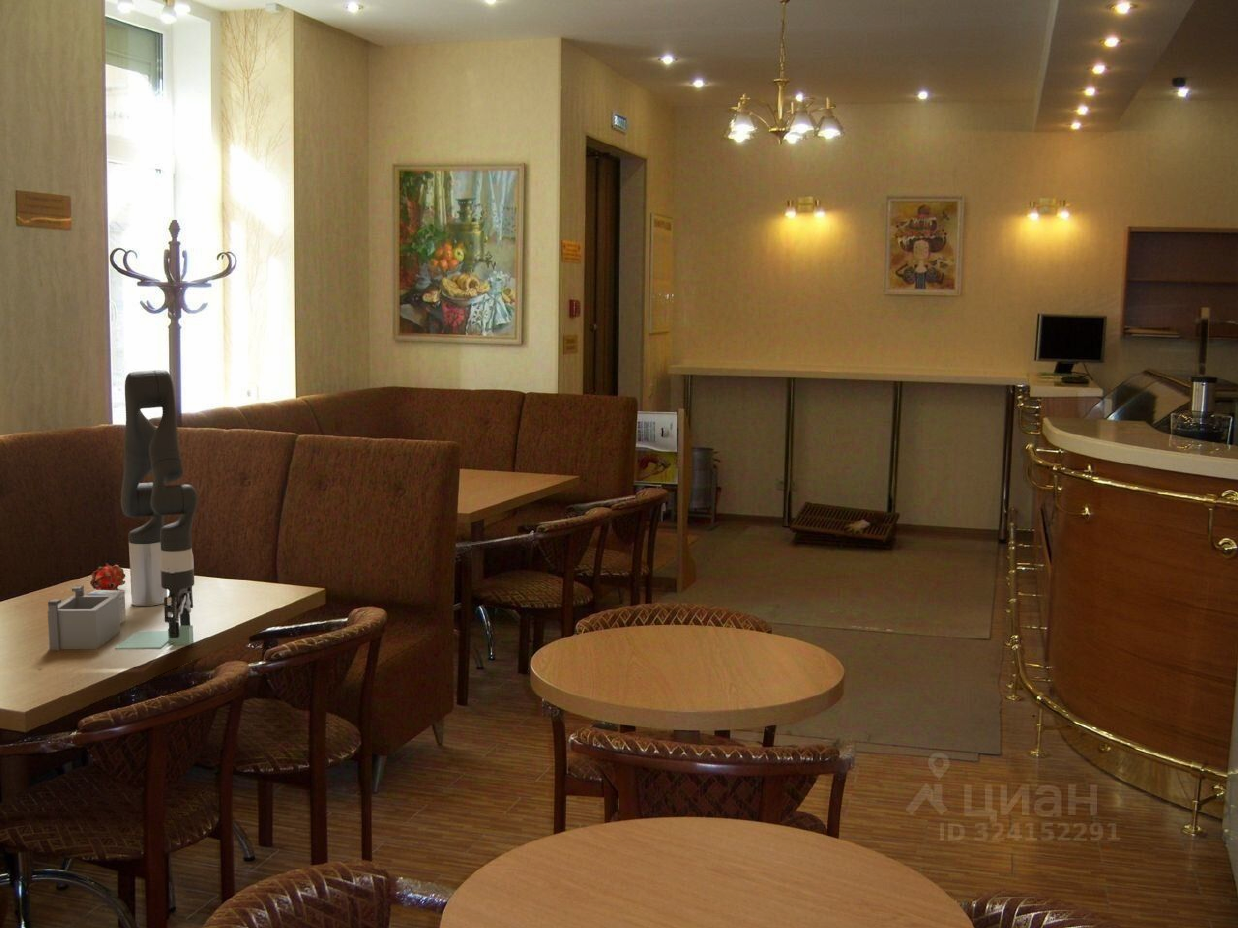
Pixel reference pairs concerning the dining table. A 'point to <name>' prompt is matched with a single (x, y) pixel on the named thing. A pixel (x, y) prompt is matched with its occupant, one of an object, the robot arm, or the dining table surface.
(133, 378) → the robot arm
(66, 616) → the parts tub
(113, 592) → the medicine box
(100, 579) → the dragon fruit
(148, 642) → the snap lid
